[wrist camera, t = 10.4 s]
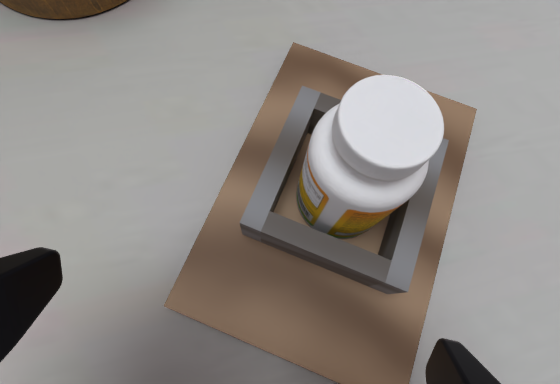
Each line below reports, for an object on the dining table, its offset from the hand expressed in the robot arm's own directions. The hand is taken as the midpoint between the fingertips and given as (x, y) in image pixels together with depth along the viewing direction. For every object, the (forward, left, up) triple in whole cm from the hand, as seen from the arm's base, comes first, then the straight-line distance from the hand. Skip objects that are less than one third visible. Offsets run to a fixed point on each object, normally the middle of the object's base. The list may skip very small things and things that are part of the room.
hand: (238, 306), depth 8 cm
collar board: (+1, -8, -13) cm, 16 cm away
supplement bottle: (+1, -8, -12) cm, 15 cm away
